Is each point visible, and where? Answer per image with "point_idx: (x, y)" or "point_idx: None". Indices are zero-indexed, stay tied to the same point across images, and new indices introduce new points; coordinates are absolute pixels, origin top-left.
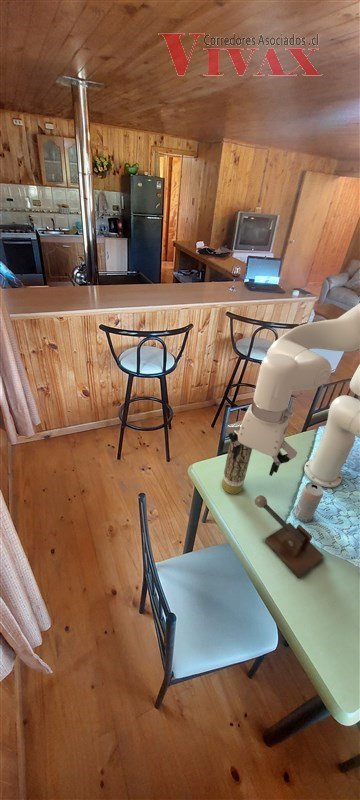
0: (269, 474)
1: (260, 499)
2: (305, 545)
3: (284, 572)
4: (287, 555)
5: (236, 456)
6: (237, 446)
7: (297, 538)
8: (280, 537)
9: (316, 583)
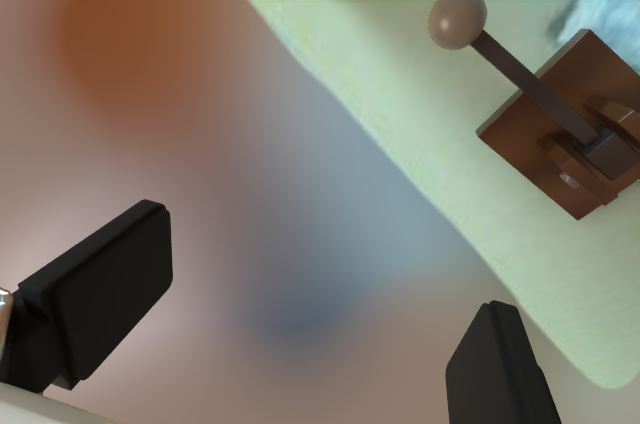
0: (449, 376)
1: (451, 32)
2: (632, 144)
3: (530, 206)
4: (549, 174)
5: (160, 282)
6: (61, 369)
7: (601, 171)
8: (534, 115)
9: (630, 212)
